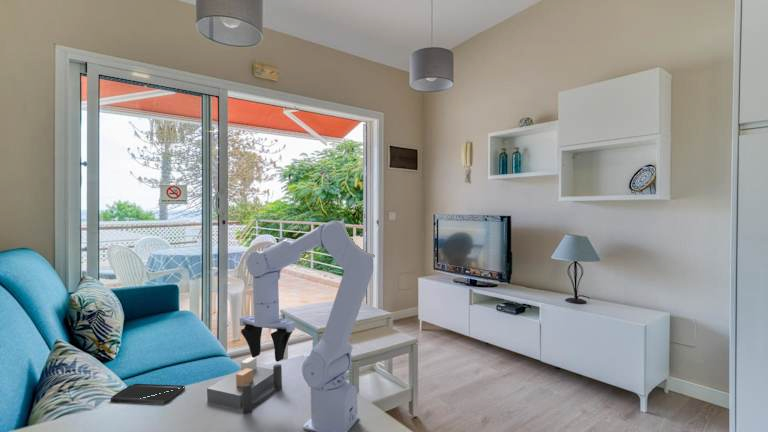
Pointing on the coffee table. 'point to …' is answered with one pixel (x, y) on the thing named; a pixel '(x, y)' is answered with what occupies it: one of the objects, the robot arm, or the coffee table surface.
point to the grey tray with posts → (232, 394)
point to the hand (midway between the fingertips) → (267, 357)
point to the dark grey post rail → (277, 387)
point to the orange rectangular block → (244, 377)
